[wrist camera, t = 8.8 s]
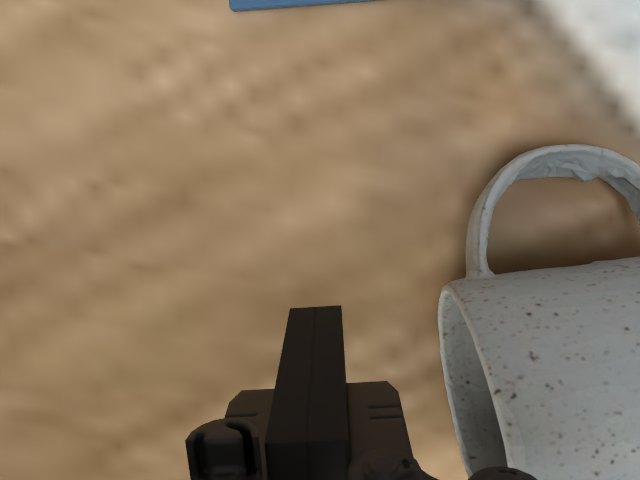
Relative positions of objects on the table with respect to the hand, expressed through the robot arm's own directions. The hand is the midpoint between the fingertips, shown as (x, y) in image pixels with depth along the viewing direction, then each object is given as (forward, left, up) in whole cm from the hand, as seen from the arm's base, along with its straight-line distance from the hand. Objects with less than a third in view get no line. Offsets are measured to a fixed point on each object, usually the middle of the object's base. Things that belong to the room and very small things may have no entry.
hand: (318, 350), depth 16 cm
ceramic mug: (+8, 0, -3) cm, 8 cm away
